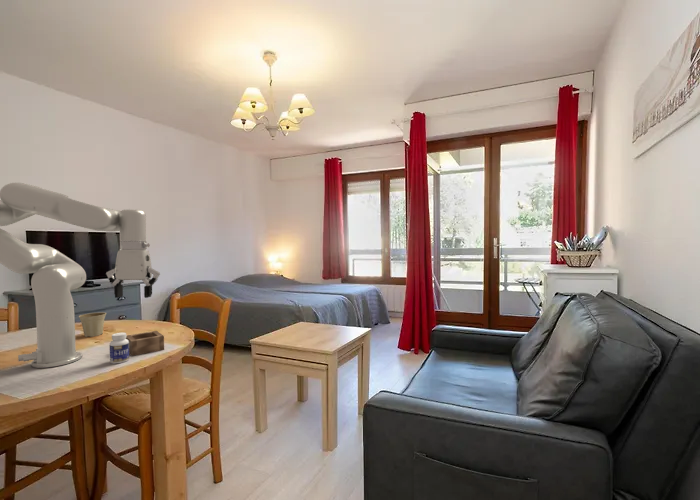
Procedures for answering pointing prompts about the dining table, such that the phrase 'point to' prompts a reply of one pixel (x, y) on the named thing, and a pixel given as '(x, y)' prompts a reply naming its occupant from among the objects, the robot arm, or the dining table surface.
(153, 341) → the well
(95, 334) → the flower pot
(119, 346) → the pill bottle
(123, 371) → the dining table surface
